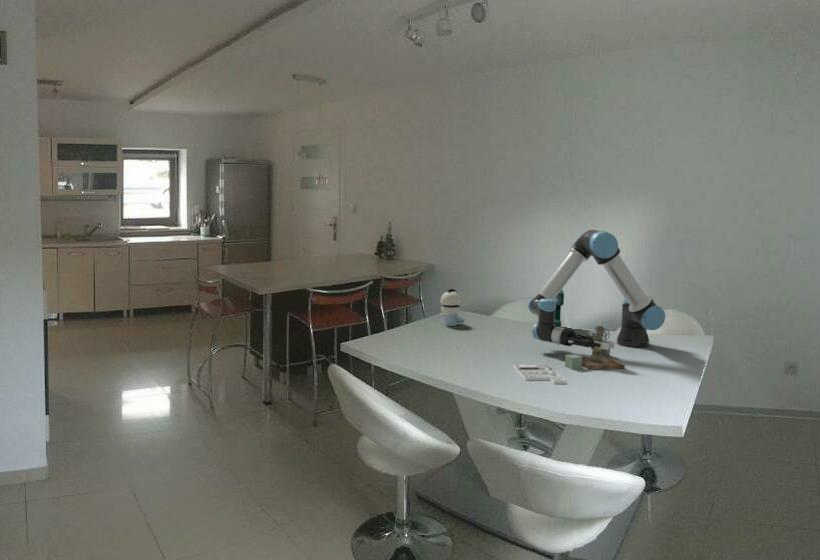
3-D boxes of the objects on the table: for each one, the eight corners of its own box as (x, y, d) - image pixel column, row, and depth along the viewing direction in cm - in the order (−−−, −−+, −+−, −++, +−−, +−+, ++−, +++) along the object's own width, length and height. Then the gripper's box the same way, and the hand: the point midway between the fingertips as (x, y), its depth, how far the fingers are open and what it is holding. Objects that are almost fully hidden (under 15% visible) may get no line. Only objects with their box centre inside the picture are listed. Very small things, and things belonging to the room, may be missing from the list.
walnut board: (608, 359, 303) (608, 355, 303) (624, 368, 288) (624, 365, 287) (574, 360, 301) (574, 356, 301) (588, 369, 285) (588, 366, 285)
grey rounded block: (606, 354, 313) (606, 343, 312) (611, 357, 307) (612, 346, 306) (593, 354, 312) (594, 344, 311) (599, 357, 306) (599, 347, 305)
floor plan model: (548, 368, 289) (548, 363, 289) (567, 384, 264) (567, 380, 264) (513, 368, 288) (513, 364, 287) (528, 385, 263) (529, 380, 263)
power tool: (562, 334, 354) (564, 296, 351) (548, 333, 355) (550, 296, 353) (561, 323, 385) (563, 288, 382) (549, 322, 386) (550, 287, 384)
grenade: (588, 358, 298) (590, 324, 296) (603, 358, 298) (605, 324, 296) (594, 362, 290) (596, 328, 288) (609, 362, 291) (611, 328, 289)
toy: (469, 325, 375) (470, 289, 373) (454, 328, 366) (455, 291, 364) (447, 320, 386) (448, 286, 384) (432, 323, 377) (433, 288, 374)
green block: (574, 365, 292) (575, 354, 291) (581, 368, 287) (582, 356, 287) (564, 366, 290) (565, 355, 289) (572, 369, 285) (572, 357, 285)
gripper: (574, 342, 312) (620, 351, 296) (552, 347, 301) (600, 357, 284) (574, 326, 311) (621, 334, 295) (553, 330, 300) (601, 340, 283)
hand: (610, 345), depth 289 cm, fingers closed on grenade, 4 cm apart
